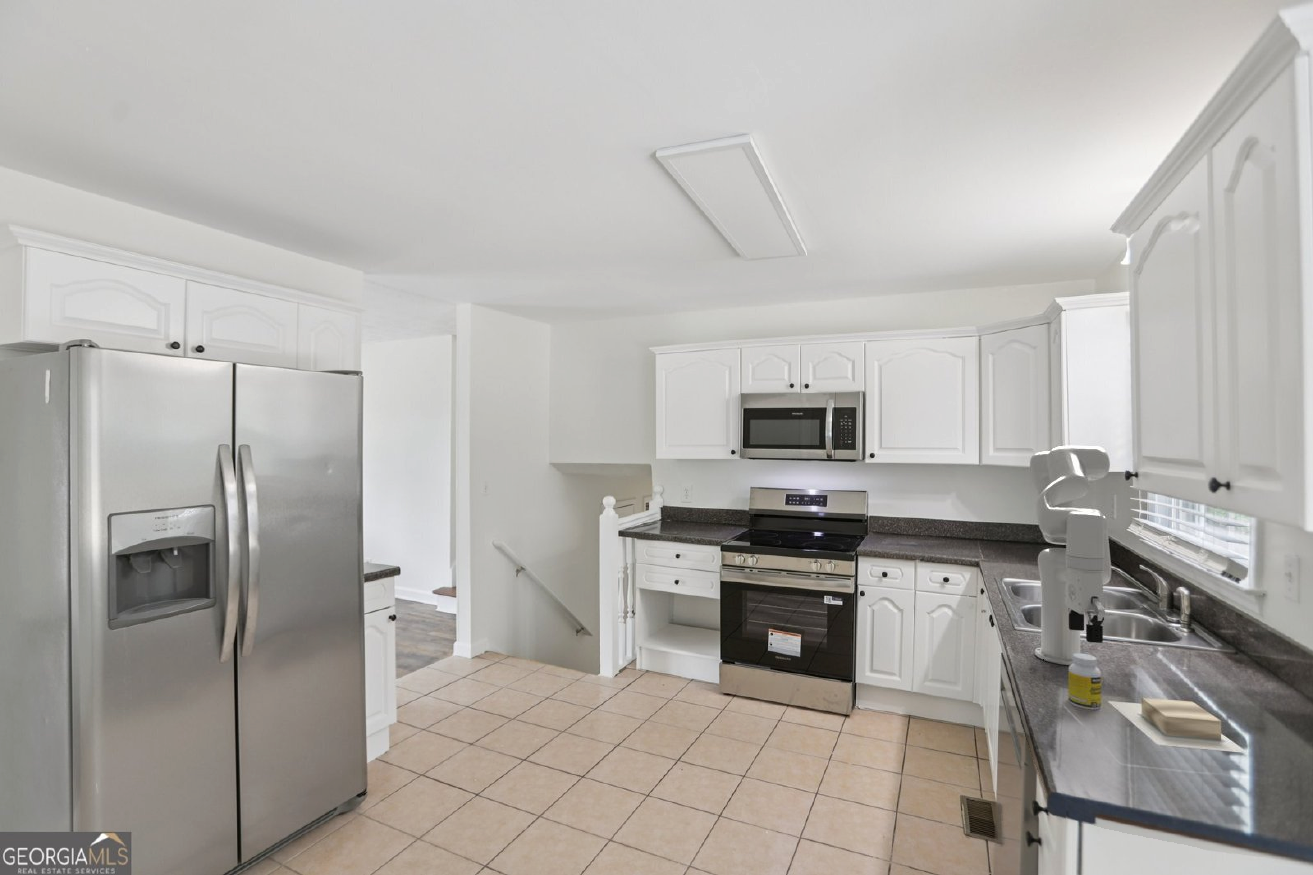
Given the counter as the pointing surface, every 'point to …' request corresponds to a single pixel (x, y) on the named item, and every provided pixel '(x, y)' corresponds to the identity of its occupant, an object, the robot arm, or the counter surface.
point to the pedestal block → (1181, 718)
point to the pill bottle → (1084, 682)
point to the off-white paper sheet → (1135, 716)
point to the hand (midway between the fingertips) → (1085, 635)
